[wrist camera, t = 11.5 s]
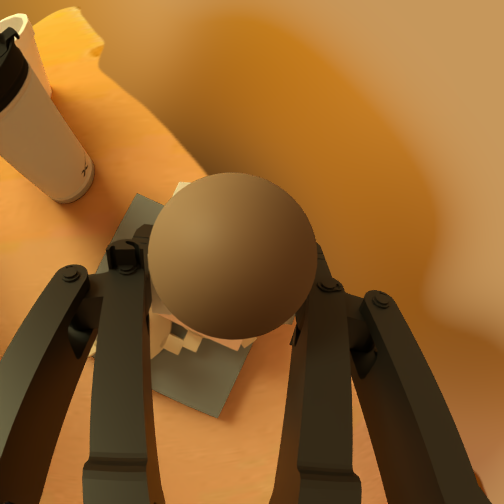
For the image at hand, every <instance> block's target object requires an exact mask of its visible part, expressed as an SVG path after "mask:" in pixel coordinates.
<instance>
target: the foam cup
mask: <svg viewBox="0 0 504 504" xmlns="http://www.w3.org/2000/svg"><path fill="white" fill-rule="evenodd" d="M8 27H11V28H13V29H14V30H15V31H16V32H17V33H18V34H19V35H20V39H17V38H16V37H15V36H14V37H15V40H14V43H15V45H16V46H17V47H18V48H19V49H20V50H21V52H22V54H23V56H24V57H25V59H26V60H27V61H28V62H29V64H30V66H31V68H32V69H33V71H34V73H35V74H36V76H37V77H38V79H39V81H40V82H41V84H42V86H43V87H44V89H45V90H46V92H47V94H48V95H49V97H50V98H51V94H52V90H51V87H50V84H49V81H48V79H47V76H46V73H45V70H44V67H43V64H42V61H41V58H40V55H39V52H38V49H37V46H36V43H35V39H34V31H33V28H32V26H31V24H30V22H29V19H28V17H27V15H26V14H16V15H12V16H9V17H7V18H5V19H3V20H1V21H0V33H2V32H3V31H4V30H5V29H7V28H8Z"/></svg>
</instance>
